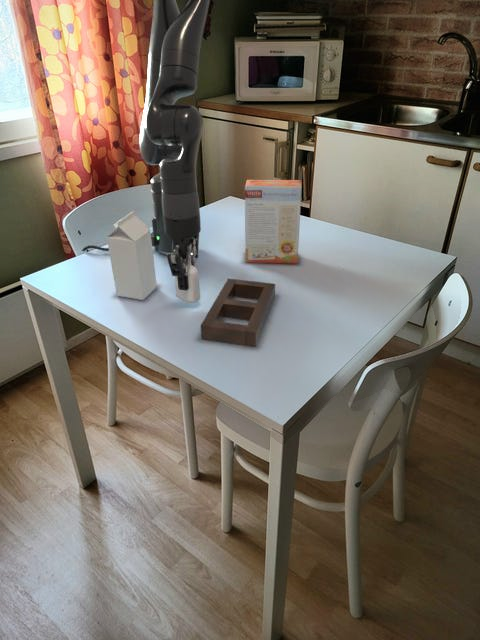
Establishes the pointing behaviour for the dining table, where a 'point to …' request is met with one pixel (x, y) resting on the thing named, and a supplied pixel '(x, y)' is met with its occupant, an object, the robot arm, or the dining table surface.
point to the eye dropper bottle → (193, 290)
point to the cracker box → (272, 220)
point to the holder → (239, 312)
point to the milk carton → (132, 258)
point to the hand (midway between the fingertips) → (187, 284)
